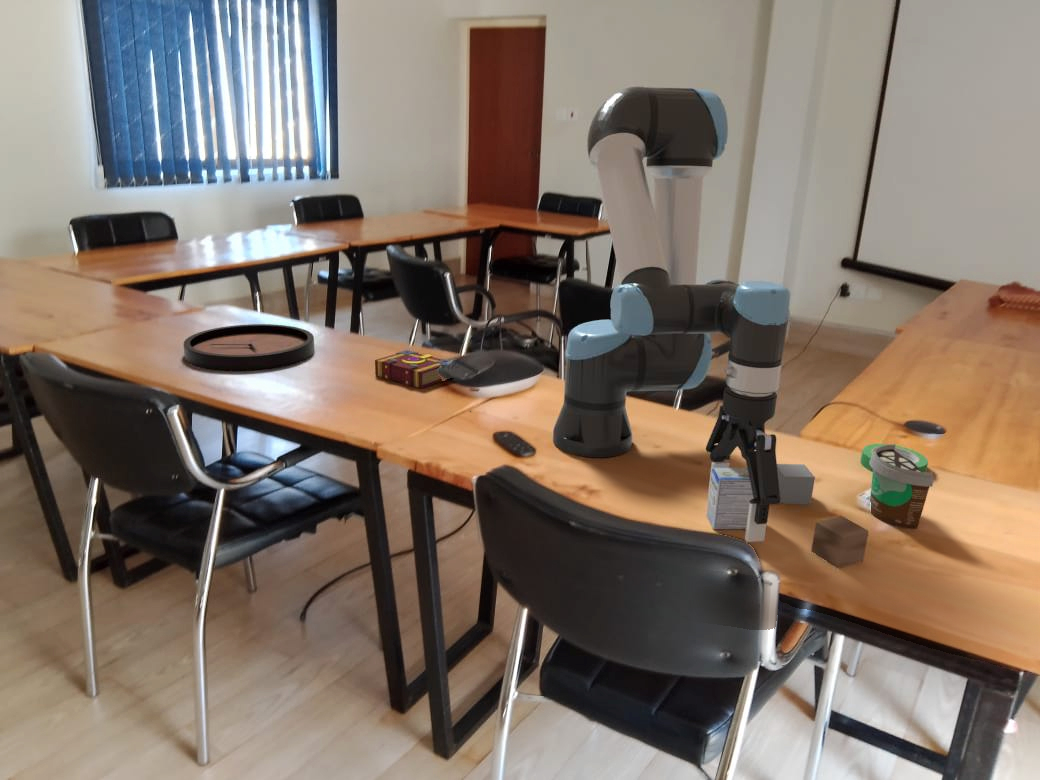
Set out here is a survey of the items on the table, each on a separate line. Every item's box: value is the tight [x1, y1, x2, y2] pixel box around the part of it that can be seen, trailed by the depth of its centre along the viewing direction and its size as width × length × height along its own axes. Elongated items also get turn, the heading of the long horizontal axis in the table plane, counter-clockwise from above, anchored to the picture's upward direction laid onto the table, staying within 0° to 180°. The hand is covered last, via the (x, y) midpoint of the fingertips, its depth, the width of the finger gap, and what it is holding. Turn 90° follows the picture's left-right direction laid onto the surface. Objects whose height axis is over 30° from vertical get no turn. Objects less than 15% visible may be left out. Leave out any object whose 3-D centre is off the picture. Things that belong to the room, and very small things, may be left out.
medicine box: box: [706, 467, 754, 530], centre depth 124 cm, size 8×4×9 cm, turn 92°
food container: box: [869, 443, 934, 530], centre depth 128 cm, size 12×6×10 cm, turn 4°
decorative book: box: [374, 349, 451, 389], centre depth 190 cm, size 11×16×5 cm
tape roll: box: [860, 443, 929, 473], centre depth 148 cm, size 11×11×3 cm
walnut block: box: [811, 515, 869, 569], centre depth 116 cm, size 5×5×5 cm
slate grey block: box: [777, 463, 816, 505], centre depth 134 cm, size 5×5×5 cm
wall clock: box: [183, 323, 316, 373], centre depth 205 cm, size 31×4×31 cm
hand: (734, 518), depth 125 cm, fingers open, 13 cm apart
